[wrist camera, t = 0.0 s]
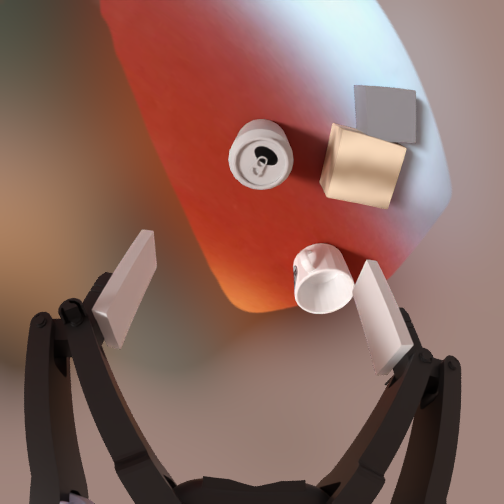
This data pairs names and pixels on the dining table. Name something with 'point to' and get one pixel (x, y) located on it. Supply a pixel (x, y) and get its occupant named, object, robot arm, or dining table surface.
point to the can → (261, 155)
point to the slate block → (386, 113)
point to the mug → (321, 279)
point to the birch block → (360, 167)
